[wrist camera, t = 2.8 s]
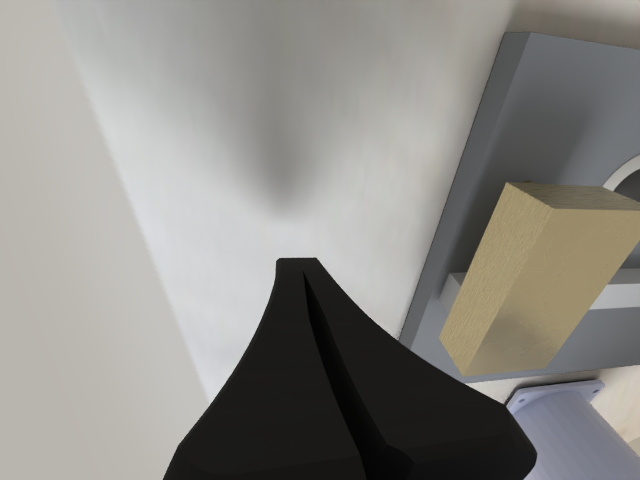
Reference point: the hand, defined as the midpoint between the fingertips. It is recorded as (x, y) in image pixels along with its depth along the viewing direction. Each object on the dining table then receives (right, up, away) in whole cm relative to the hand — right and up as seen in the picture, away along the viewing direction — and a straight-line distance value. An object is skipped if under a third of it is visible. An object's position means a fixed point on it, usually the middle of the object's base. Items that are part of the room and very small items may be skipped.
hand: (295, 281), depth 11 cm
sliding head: (+8, +1, +3) cm, 9 cm away
